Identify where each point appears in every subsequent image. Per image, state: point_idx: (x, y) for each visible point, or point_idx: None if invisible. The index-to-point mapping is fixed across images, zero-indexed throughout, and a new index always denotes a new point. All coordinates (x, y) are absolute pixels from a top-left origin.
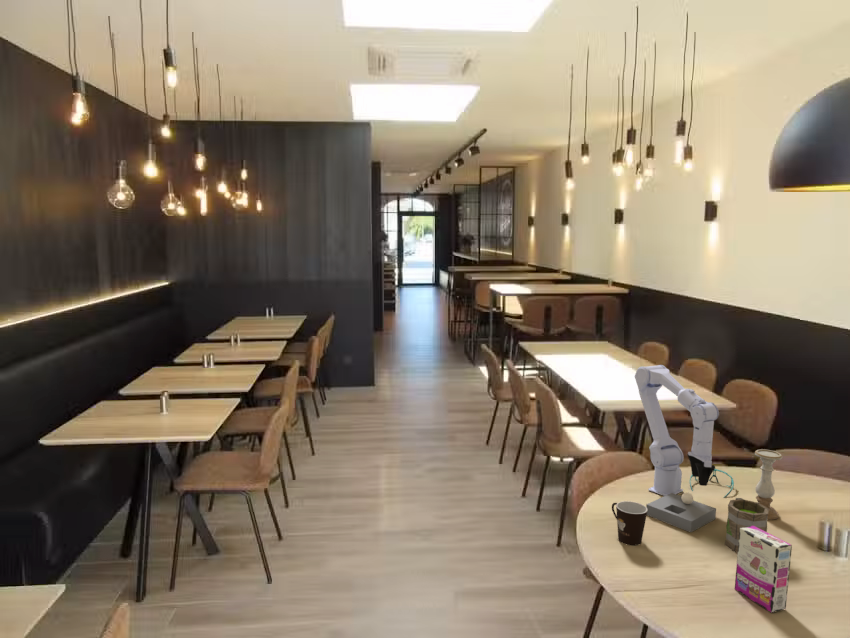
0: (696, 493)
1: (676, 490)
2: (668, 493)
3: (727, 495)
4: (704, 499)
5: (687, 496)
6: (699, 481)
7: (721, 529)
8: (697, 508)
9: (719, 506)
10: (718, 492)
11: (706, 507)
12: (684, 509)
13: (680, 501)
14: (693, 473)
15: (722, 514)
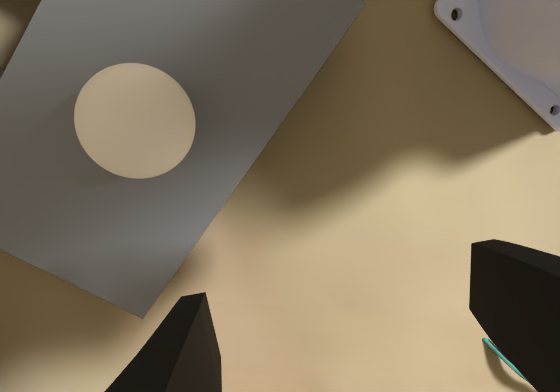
0: (530, 209)
1: (543, 82)
2: (482, 10)
3: (504, 361)
4: (445, 245)
5: (77, 121)
6: (163, 322)
7: (11, 293)
8: (75, 191)
9: (358, 311)
10: None
11: (129, 258)
12: (1, 77)
13: (176, 62)
14: (497, 265)
15: (246, 316)
